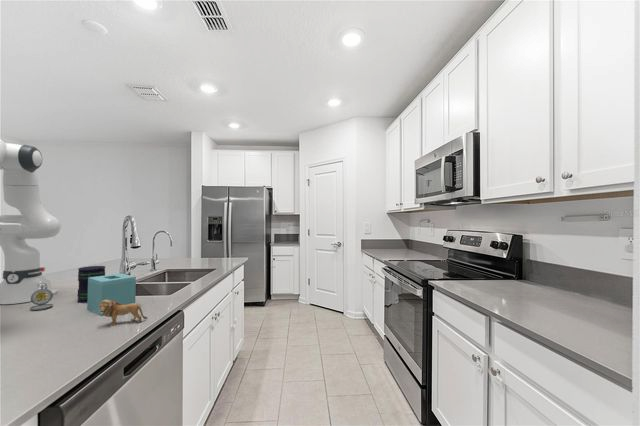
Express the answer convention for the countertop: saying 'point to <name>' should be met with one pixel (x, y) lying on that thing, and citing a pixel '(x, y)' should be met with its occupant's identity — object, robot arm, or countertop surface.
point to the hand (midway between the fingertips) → (33, 228)
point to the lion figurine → (119, 310)
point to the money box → (110, 290)
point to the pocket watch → (40, 294)
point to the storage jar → (83, 280)
